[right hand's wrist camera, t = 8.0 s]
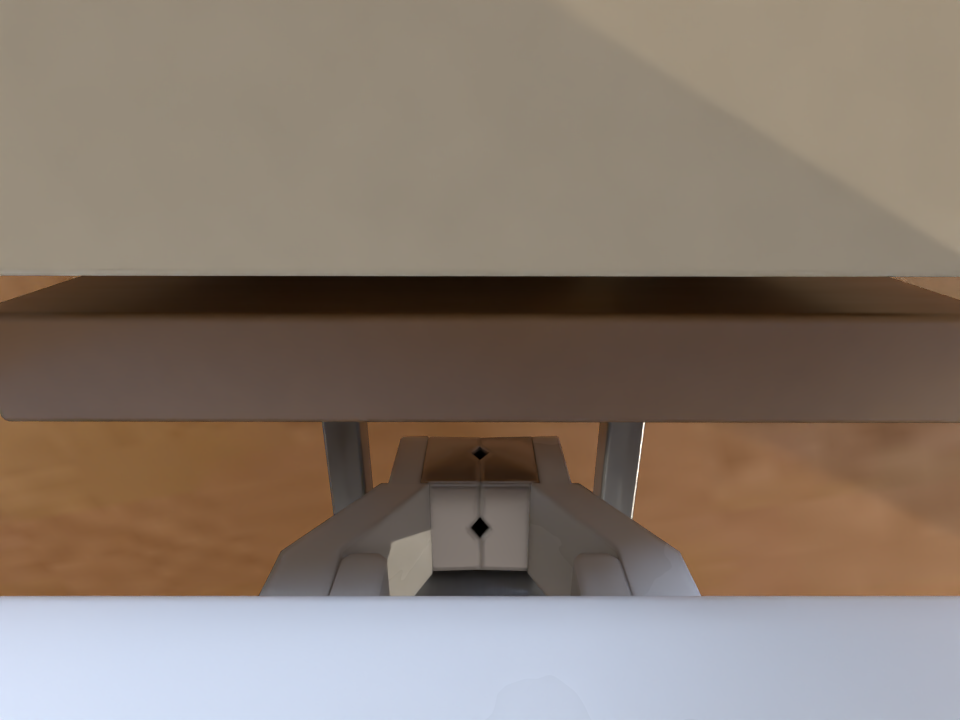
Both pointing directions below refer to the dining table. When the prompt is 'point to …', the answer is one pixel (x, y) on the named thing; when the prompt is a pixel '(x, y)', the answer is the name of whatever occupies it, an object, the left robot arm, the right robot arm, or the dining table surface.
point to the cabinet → (480, 138)
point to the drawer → (481, 360)
